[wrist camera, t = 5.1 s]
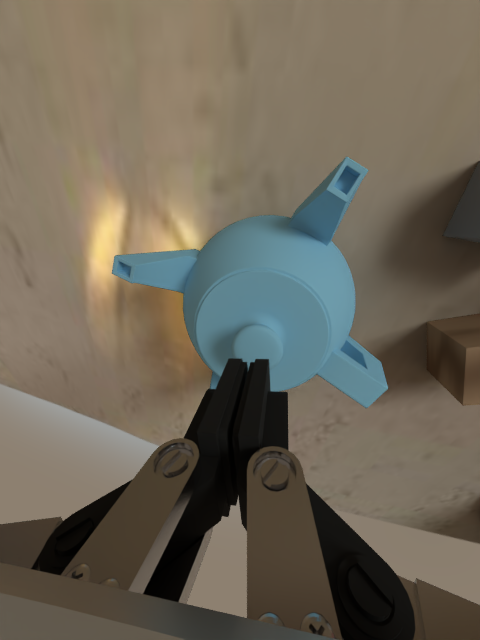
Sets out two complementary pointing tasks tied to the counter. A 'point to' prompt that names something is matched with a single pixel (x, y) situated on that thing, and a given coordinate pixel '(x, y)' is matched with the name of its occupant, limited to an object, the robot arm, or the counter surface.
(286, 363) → the teapot
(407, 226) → the counter surface
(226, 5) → the counter surface
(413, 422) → the counter surface
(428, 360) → the walnut block
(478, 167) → the charcoal block
